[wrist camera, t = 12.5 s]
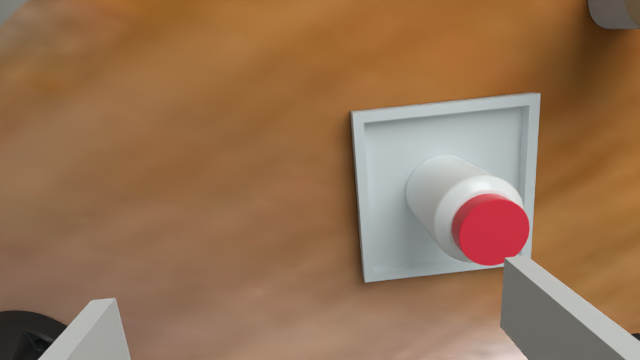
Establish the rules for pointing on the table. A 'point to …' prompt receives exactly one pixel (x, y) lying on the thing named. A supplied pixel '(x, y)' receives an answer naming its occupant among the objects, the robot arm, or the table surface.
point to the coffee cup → (615, 13)
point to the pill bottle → (468, 210)
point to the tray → (424, 143)
